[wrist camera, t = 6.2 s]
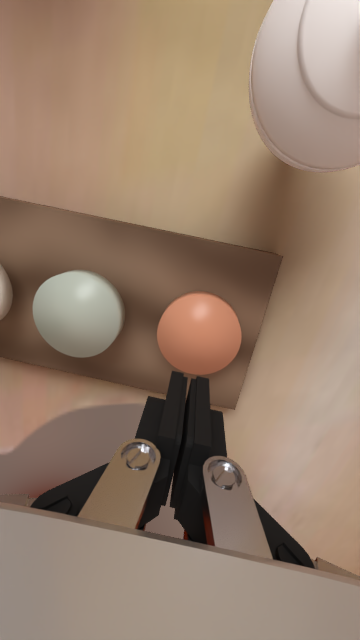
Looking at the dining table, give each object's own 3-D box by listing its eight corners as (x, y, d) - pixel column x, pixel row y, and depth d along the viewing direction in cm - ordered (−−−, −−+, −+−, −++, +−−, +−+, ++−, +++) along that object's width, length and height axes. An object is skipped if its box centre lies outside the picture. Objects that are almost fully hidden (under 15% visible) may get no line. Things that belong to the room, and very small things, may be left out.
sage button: (72, 358, 22) (62, 368, 20) (30, 290, 20) (15, 295, 19) (139, 331, 21) (133, 339, 19) (99, 255, 19) (89, 258, 18)
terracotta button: (180, 374, 23) (178, 385, 21) (147, 309, 21) (142, 316, 20) (250, 349, 21) (254, 358, 20) (221, 277, 20) (221, 282, 18)
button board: (232, 396, 26) (234, 409, 24) (-39, 335, 26) (-58, 343, 24) (276, 253, 21) (282, 256, 19) (-50, 185, 22) (-75, 182, 20)
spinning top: (222, 177, 20) (240, 116, 9) (252, 43, 17) (335, -297, 6) (328, 199, 20) (490, 166, 8) (375, 66, 17) (698, -239, 6)
